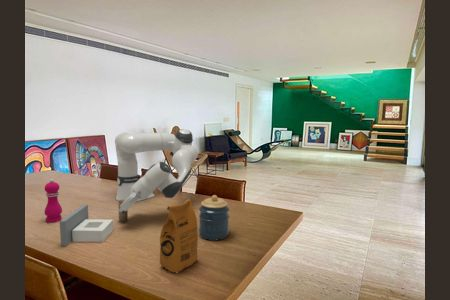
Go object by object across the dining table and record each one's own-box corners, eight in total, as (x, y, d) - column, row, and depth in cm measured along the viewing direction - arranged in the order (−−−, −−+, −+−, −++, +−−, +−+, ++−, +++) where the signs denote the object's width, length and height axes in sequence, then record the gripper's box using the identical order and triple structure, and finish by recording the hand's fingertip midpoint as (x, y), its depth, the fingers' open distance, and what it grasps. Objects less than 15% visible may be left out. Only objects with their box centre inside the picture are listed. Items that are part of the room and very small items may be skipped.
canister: (217, 244, 118) (218, 201, 115) (192, 236, 124) (193, 196, 122) (234, 233, 128) (235, 194, 126) (210, 226, 135) (210, 189, 133)
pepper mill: (44, 224, 133) (41, 181, 131) (45, 218, 140) (43, 178, 137) (62, 221, 137) (60, 180, 134) (62, 216, 143) (60, 176, 140)
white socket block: (113, 230, 129) (113, 219, 128) (102, 242, 117) (102, 230, 116) (86, 230, 128) (85, 219, 128) (72, 242, 117) (72, 230, 116)
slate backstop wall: (88, 225, 132) (87, 204, 131) (66, 246, 113) (65, 221, 111) (84, 225, 132) (83, 204, 131) (61, 246, 112) (59, 221, 111)
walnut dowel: (125, 218, 142) (125, 199, 141) (129, 221, 139) (128, 201, 138) (117, 220, 139) (117, 200, 138) (120, 223, 136) (120, 202, 135)
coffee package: (155, 266, 100) (154, 204, 97) (181, 252, 110) (181, 196, 107) (175, 276, 94) (176, 210, 91) (201, 261, 104) (202, 201, 101)
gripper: (141, 200, 128) (119, 221, 128) (151, 188, 148) (132, 206, 149) (130, 190, 127) (108, 212, 128) (142, 179, 147) (123, 198, 148)
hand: (121, 209), depth 138 cm, fingers closed on walnut dowel, 4 cm apart
